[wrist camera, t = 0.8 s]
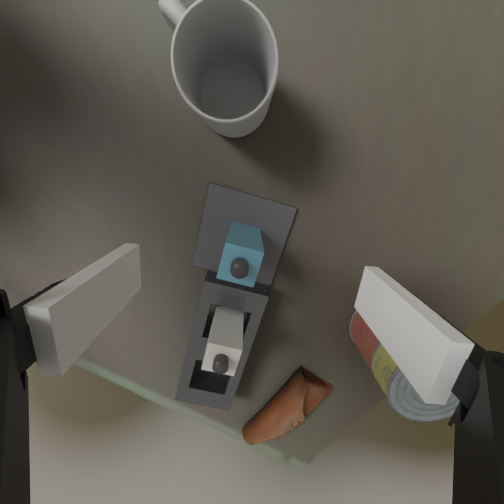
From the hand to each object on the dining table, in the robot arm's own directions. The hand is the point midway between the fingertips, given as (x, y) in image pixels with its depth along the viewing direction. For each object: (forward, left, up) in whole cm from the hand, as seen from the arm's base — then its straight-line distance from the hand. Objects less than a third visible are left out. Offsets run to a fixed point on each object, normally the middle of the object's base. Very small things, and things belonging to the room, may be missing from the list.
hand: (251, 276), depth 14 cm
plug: (0, -4, -20) cm, 20 cm away
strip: (+1, -21, -20) cm, 29 cm away
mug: (-7, +13, -21) cm, 26 cm away
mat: (0, -4, -20) cm, 21 cm away
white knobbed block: (+1, -16, -20) cm, 25 cm away
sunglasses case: (+16, -33, -21) cm, 42 cm away
